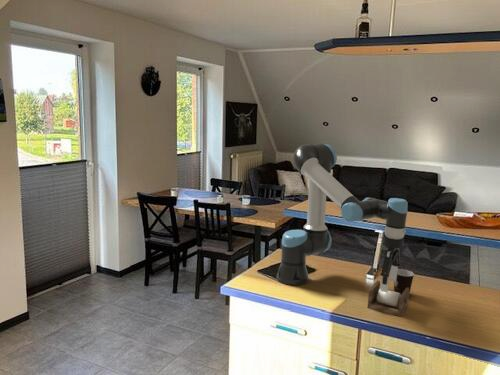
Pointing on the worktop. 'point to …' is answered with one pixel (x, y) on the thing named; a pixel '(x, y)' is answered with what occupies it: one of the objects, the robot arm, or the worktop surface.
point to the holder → (386, 308)
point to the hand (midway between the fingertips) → (388, 285)
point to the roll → (388, 298)
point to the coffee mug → (403, 280)
